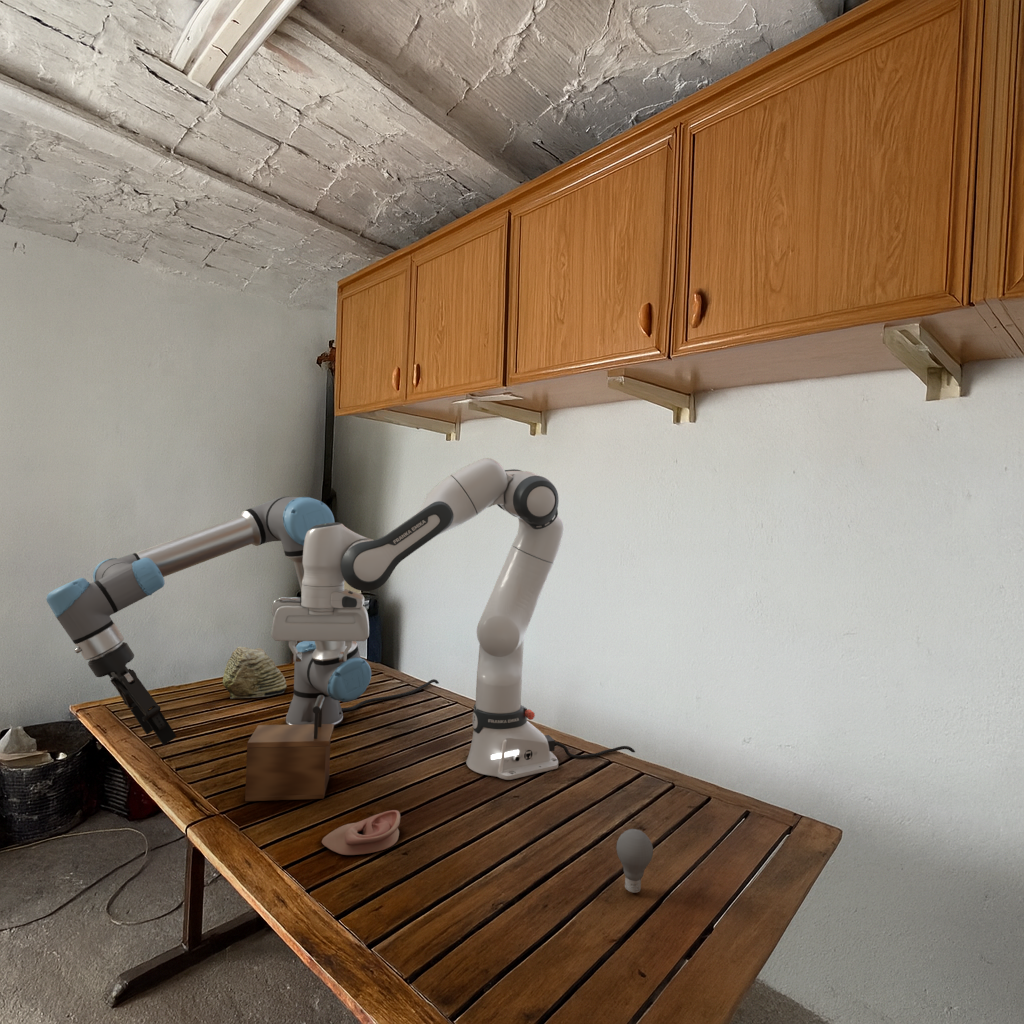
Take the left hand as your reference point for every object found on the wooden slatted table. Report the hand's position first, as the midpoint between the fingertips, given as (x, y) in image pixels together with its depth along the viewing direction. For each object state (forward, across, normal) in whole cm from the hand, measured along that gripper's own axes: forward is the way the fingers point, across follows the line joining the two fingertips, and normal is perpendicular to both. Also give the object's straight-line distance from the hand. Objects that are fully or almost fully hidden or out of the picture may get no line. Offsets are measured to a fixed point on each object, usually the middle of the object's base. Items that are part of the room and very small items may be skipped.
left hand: (161, 735), depth 133 cm
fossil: (+22, -53, +32) cm, 66 cm away
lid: (+13, +16, +18) cm, 27 cm away
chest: (+22, +14, +13) cm, 29 cm away
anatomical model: (+27, +41, +13) cm, 51 cm away
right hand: (0, +20, +29) cm, 36 cm away
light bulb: (+45, +82, +34) cm, 99 cm away
